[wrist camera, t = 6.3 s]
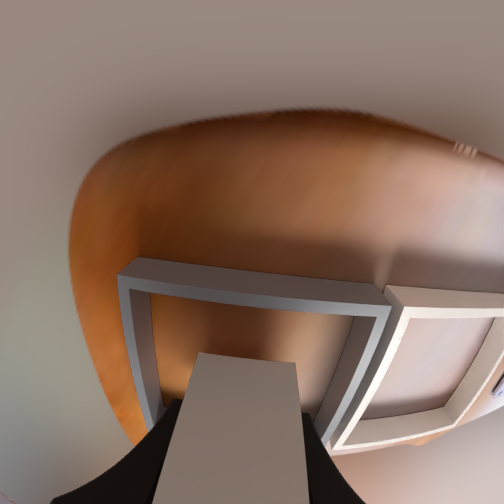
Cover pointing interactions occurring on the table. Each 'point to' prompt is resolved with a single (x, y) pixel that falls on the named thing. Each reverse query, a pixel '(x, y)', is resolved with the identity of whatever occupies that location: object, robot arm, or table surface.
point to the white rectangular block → (237, 436)
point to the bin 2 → (403, 308)
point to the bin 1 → (253, 295)
